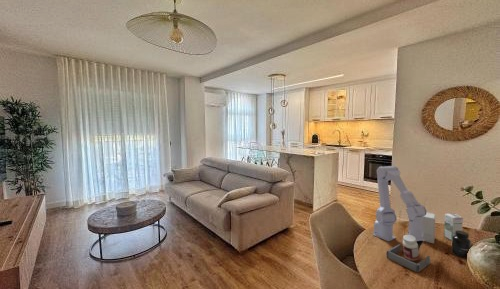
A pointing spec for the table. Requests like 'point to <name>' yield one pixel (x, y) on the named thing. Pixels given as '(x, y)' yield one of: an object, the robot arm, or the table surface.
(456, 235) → the supplement bottle
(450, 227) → the syrup box
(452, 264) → the table surface
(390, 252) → the box
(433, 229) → the supplement box
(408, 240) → the pill bottle
